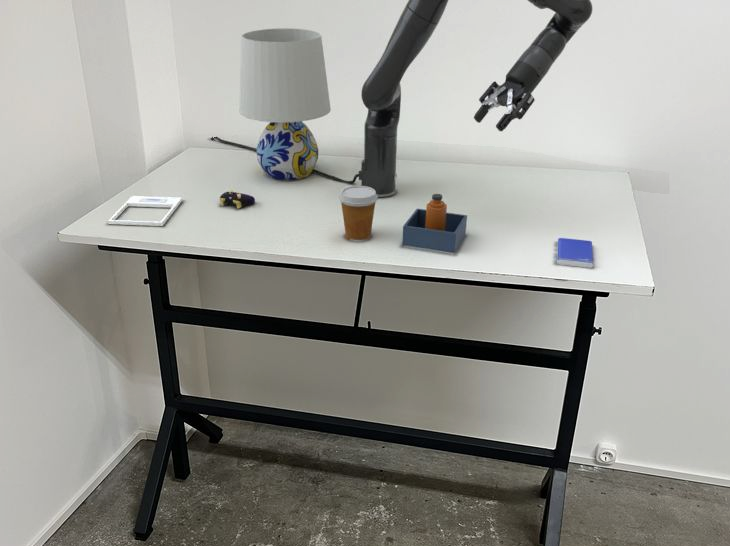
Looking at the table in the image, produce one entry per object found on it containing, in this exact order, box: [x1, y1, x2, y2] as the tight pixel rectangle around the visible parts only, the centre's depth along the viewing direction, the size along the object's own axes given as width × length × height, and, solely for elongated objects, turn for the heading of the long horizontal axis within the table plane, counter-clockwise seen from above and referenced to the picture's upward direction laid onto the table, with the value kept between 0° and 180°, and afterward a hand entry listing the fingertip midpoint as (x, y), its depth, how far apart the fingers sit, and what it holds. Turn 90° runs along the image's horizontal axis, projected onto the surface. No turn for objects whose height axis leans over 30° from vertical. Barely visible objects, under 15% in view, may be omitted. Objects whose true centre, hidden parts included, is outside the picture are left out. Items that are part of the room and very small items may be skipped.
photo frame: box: [107, 195, 183, 227], centre depth 195 cm, size 15×1×18 cm
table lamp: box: [238, 27, 332, 181], centre depth 212 cm, size 27×27×40 cm
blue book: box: [556, 237, 594, 269], centre depth 172 cm, size 2×8×12 cm
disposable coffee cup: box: [338, 185, 379, 241], centre depth 179 cm, size 10×10×12 cm
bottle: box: [425, 193, 448, 231], centre depth 176 cm, size 5×5×12 cm
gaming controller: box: [219, 190, 256, 209], centre depth 200 cm, size 10×5×6 cm
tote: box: [401, 208, 468, 254], centre depth 178 cm, size 13×12×6 cm
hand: (487, 124), depth 173 cm, fingers open, 8 cm apart
